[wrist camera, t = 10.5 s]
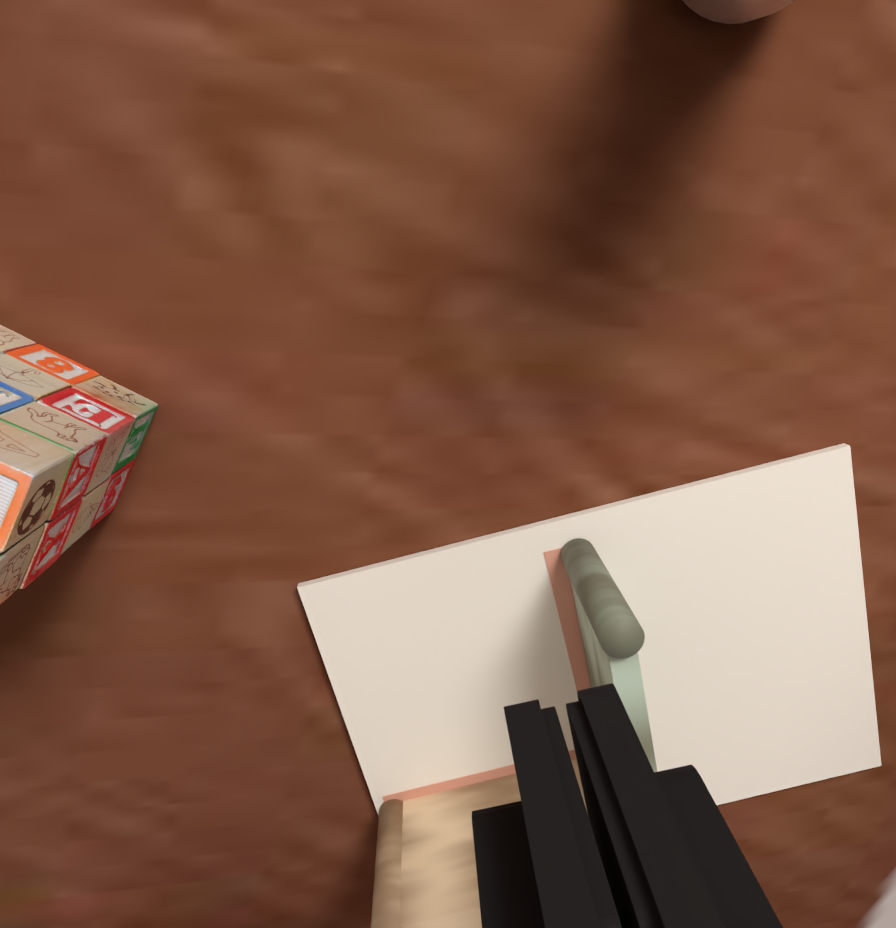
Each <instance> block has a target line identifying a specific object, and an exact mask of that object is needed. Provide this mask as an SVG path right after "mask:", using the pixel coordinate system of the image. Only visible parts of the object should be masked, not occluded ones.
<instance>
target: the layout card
mask: <svg viewBox="0 0 896 928" xmlns="http://www.w3.org/2000/svg"><path fill="white" fill-rule="evenodd" d="M576 538H582V539H585V540H588V541H589V542H590V543H591V544H592V545H593V547H594V548H595V550H596V552H597V553H598V555H599V557H600V558H601V560H602V562H603V563H604V565H605V567H606V568H607V570H608V572H609V573H610V575H611V577H612V578H613V580H614V582H615V583H616V585H617V587H618V588H619V590H620V592H621V594H622V595H623V597H624V599H625V600H626V602H627V604H628V605H629V607H630V609H631V610H632V612H633V614H634V615H635V617H636V619H637V620H638V622H639V624H640V625H641V627H642V629H643V631H644V634H645V640H644V644H643V646H642V648H641V649H640V650H639V651H638V657H639V663H640V669H641V675H642V681H643V687H644V693H645V699H646V705H647V712H648V718H649V724H650V730H651V736H652V742H653V748H654V754H655V760H656V766H657V772H659V771H663V770H668V769H673V768H677V767H682V766H687V765H691V764H692V765H693V766H694V767H695V768H696V770H697V771H698V773H699V774H700V776H701V778H702V780H703V781H704V783H705V785H706V787H707V789H708V791H709V793H710V794H711V796H712V798H713V800H714V802H715V804H716V805H720V804H724V803H728V802H732V801H737V800H741V799H745V798H749V797H753V796H757V795H761V794H766V793H770V792H774V791H778V790H782V789H786V788H791V787H795V786H799V785H803V784H807V783H811V782H816V781H820V780H824V779H828V778H832V777H836V776H841V775H845V774H849V773H853V772H857V771H861V770H866V769H870V768H874V767H878V766H881V757H880V747H879V737H878V726H877V716H876V706H875V696H874V686H873V675H872V665H871V655H870V645H869V634H868V624H867V614H866V604H865V593H864V583H863V573H862V563H861V553H860V542H859V532H858V522H857V512H856V501H855V491H854V481H853V471H852V460H851V450H850V446H849V445H847V444H845V443H843V444H840V445H836V446H832V447H828V448H824V449H820V450H816V451H812V452H808V453H805V454H801V455H797V456H793V457H789V458H785V459H781V460H777V461H773V462H769V463H766V464H762V465H758V466H754V467H750V468H746V469H742V470H738V471H734V472H731V473H727V474H723V475H719V476H715V477H711V478H707V479H703V480H699V481H695V482H692V483H688V484H684V485H680V486H676V487H672V488H668V489H664V490H660V491H657V492H653V493H649V494H645V495H641V496H637V497H633V498H629V499H625V500H621V501H618V502H614V503H610V504H606V505H602V506H598V507H594V508H590V509H586V510H583V511H579V512H575V513H571V514H567V515H563V516H559V517H555V518H551V519H547V520H544V521H540V522H536V523H532V524H528V525H524V526H520V527H516V528H512V529H509V530H505V531H501V532H497V533H493V534H489V535H485V536H481V537H477V538H473V539H470V540H466V541H462V542H458V543H454V544H450V545H446V546H442V547H438V548H435V549H431V550H427V551H423V552H419V553H415V554H411V555H407V556H403V557H399V558H396V559H392V560H388V561H384V562H380V563H376V564H372V565H368V566H364V567H361V568H357V569H353V570H349V571H345V572H341V573H337V574H333V575H329V576H325V577H322V578H318V579H314V580H310V581H306V582H302V583H299V584H298V586H297V589H298V592H299V595H300V597H301V600H302V603H303V606H304V609H305V611H306V614H307V617H308V620H309V623H310V625H311V628H312V631H313V634H314V637H315V639H316V642H317V645H318V648H319V651H320V653H321V656H322V659H323V662H324V665H325V667H326V670H327V673H328V676H329V679H330V682H331V684H332V687H333V690H334V693H335V696H336V698H337V701H338V704H339V707H340V710H341V712H342V715H343V718H344V721H345V724H346V726H347V729H348V732H349V735H350V738H351V740H352V743H353V746H354V749H355V752H356V755H357V757H358V760H359V763H360V766H361V769H362V771H363V774H364V777H365V780H366V783H367V785H368V788H369V791H370V794H371V797H372V799H373V802H374V805H375V808H376V811H377V813H378V816H379V809H380V806H381V805H382V803H383V802H386V801H388V800H391V799H399V800H402V801H405V800H409V799H413V798H417V797H421V796H426V795H430V794H434V793H438V792H442V791H446V790H450V789H454V788H458V787H462V786H466V785H471V784H475V783H479V782H483V781H487V780H491V779H495V778H499V777H503V776H507V775H512V774H516V771H515V766H514V760H513V755H512V750H511V744H510V739H509V734H508V729H507V723H506V718H505V713H504V707H505V706H509V705H514V704H519V703H523V702H528V701H532V700H537V699H538V700H539V703H540V707H541V709H544V708H548V707H553V706H555V708H556V712H557V715H558V718H559V721H560V725H561V728H562V731H563V735H564V738H565V741H566V745H567V748H568V751H569V754H570V758H571V760H573V759H576V754H575V749H574V744H573V739H572V734H571V729H570V724H569V719H568V714H567V709H566V704H567V703H571V702H576V701H578V696H577V691H579V690H583V689H588V688H591V685H590V679H589V674H588V669H587V664H586V658H585V653H584V648H583V642H582V637H581V632H580V627H579V621H578V616H577V611H576V605H575V600H574V595H573V589H572V584H571V580H570V578H569V576H568V574H567V572H566V570H565V567H564V565H563V563H562V561H561V557H560V554H561V550H562V548H563V546H564V545H565V544H566V543H567V542H568V541H570V540H572V539H576Z"/></svg>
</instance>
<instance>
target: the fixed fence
mask: <svg viewBox="0 0 896 928" xmlns="http://www.w3.org/2000/svg"><path fill="white" fill-rule="evenodd" d="M571 761H572V764H573V768H574V771H575V774H576V778H577V781H578V784H579V787H580V791H581V794H582V797H583V801H584V804H585V807H586V803H585V798H584V793H583V788H582V784H581V779H580V774H579V769H578V764H577V759H573V760H571ZM518 801H521V797H520V792H519V787H518V781H517V776H516V774H512V775H507V776H503V777H499V778H495V779H491V780H487V781H483V782H479V783H475V784H471V785H466V786H462V787H458V788H454V789H450V790H446V791H442V792H438V793H434V794H430V795H426V796H421V797H417V798H413V799H409V800H405V801H402V800H399V799H391V800H388V801H386V802H383V803H382V805H381V806H380V809H379V820H378V834H377V848H376V862H375V876H374V890H373V904H372V918H371V928H482V923H481V912H480V902H479V891H478V881H477V870H476V860H475V849H474V838H473V828H472V811H475V810H480V809H485V808H490V807H494V806H499V805H504V804H508V803H513V802H518ZM586 811H587V808H586ZM587 814H588V813H587Z"/></svg>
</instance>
